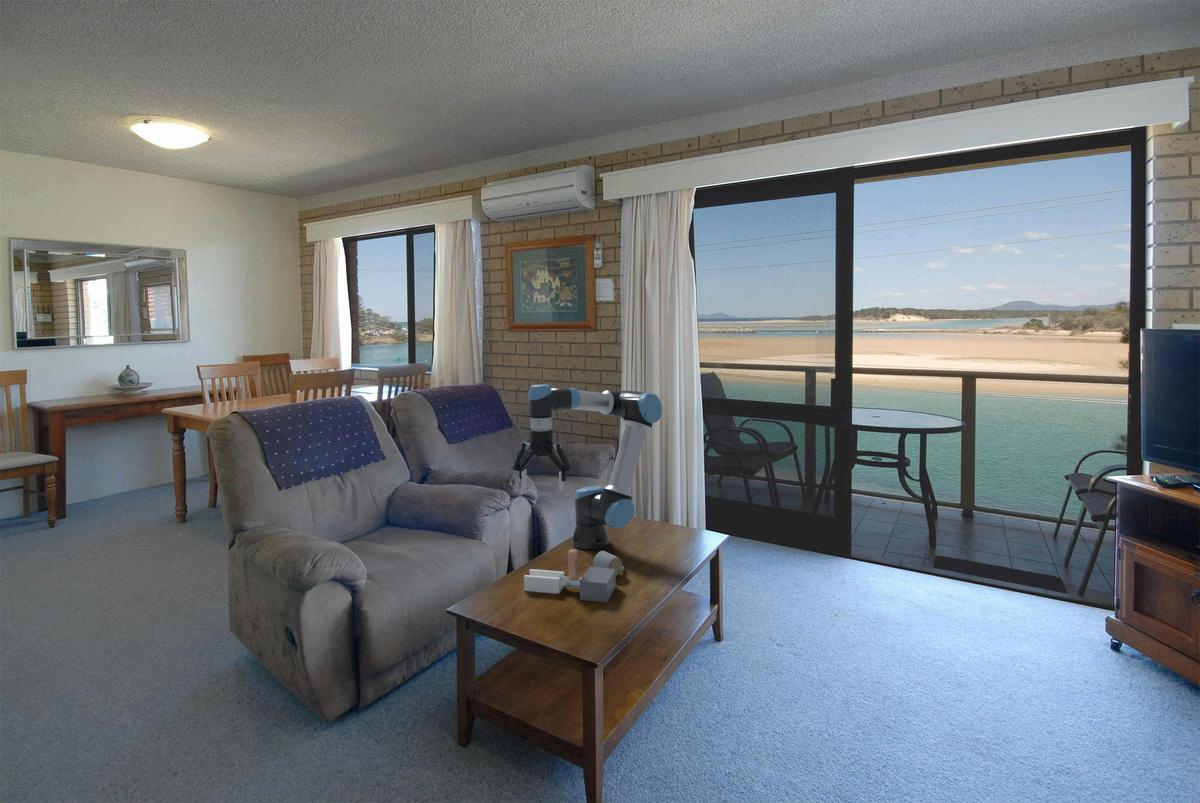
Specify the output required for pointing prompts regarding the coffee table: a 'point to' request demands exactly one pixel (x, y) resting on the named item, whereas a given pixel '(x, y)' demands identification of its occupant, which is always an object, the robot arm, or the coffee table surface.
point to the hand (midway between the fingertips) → (542, 489)
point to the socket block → (597, 584)
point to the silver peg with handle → (571, 571)
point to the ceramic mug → (608, 562)
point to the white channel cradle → (543, 581)
